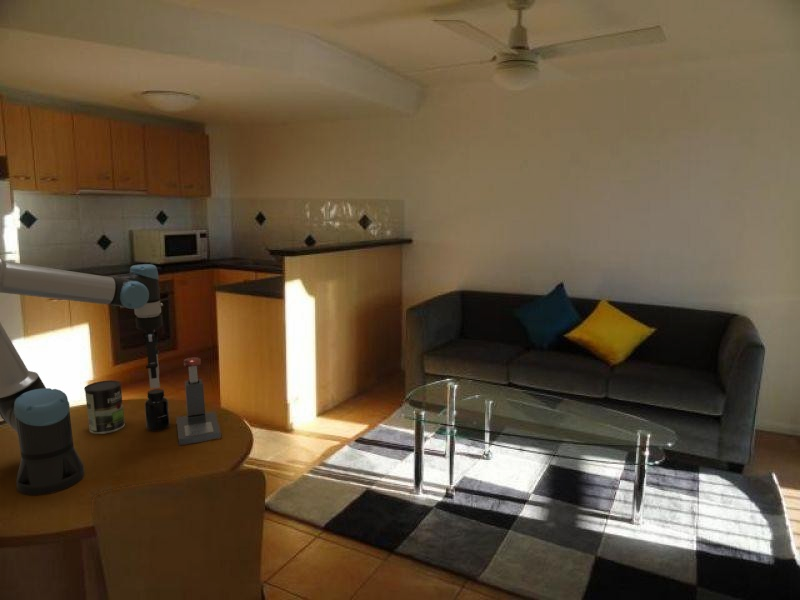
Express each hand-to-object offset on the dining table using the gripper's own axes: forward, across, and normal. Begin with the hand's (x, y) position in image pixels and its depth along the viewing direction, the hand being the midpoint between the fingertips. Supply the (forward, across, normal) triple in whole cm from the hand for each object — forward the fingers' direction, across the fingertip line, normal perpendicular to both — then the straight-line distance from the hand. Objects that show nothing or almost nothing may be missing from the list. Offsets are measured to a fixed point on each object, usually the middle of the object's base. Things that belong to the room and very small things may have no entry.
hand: (155, 380), depth 180 cm
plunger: (+6, -2, -11) cm, 13 cm away
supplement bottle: (+16, 0, 0) cm, 16 cm away
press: (+15, -8, -11) cm, 21 cm away
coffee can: (+16, +6, +15) cm, 23 cm away
